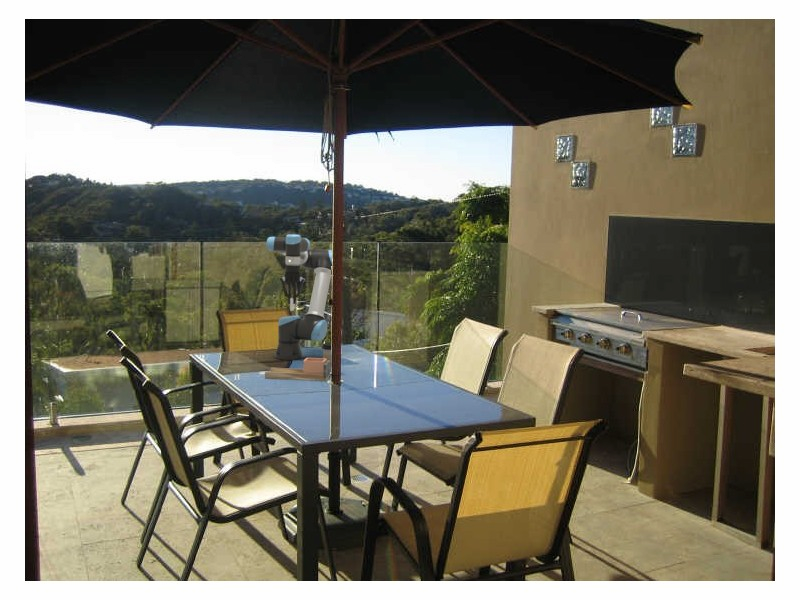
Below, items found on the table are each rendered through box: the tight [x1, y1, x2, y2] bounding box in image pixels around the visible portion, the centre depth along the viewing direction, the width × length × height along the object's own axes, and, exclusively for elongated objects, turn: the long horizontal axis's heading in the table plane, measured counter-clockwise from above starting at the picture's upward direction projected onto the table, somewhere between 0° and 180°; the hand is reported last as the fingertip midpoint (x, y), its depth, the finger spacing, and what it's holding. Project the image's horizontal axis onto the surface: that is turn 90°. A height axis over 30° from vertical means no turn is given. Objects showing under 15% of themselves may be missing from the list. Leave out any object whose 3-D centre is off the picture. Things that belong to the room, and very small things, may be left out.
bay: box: [264, 360, 331, 382], centre depth 406 cm, size 12×30×8 cm, turn 85°
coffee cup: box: [321, 342, 332, 372], centre depth 418 cm, size 9×9×15 cm
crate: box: [302, 357, 327, 375], centre depth 405 cm, size 9×10×8 cm
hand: (292, 310), depth 425 cm, fingers closed
